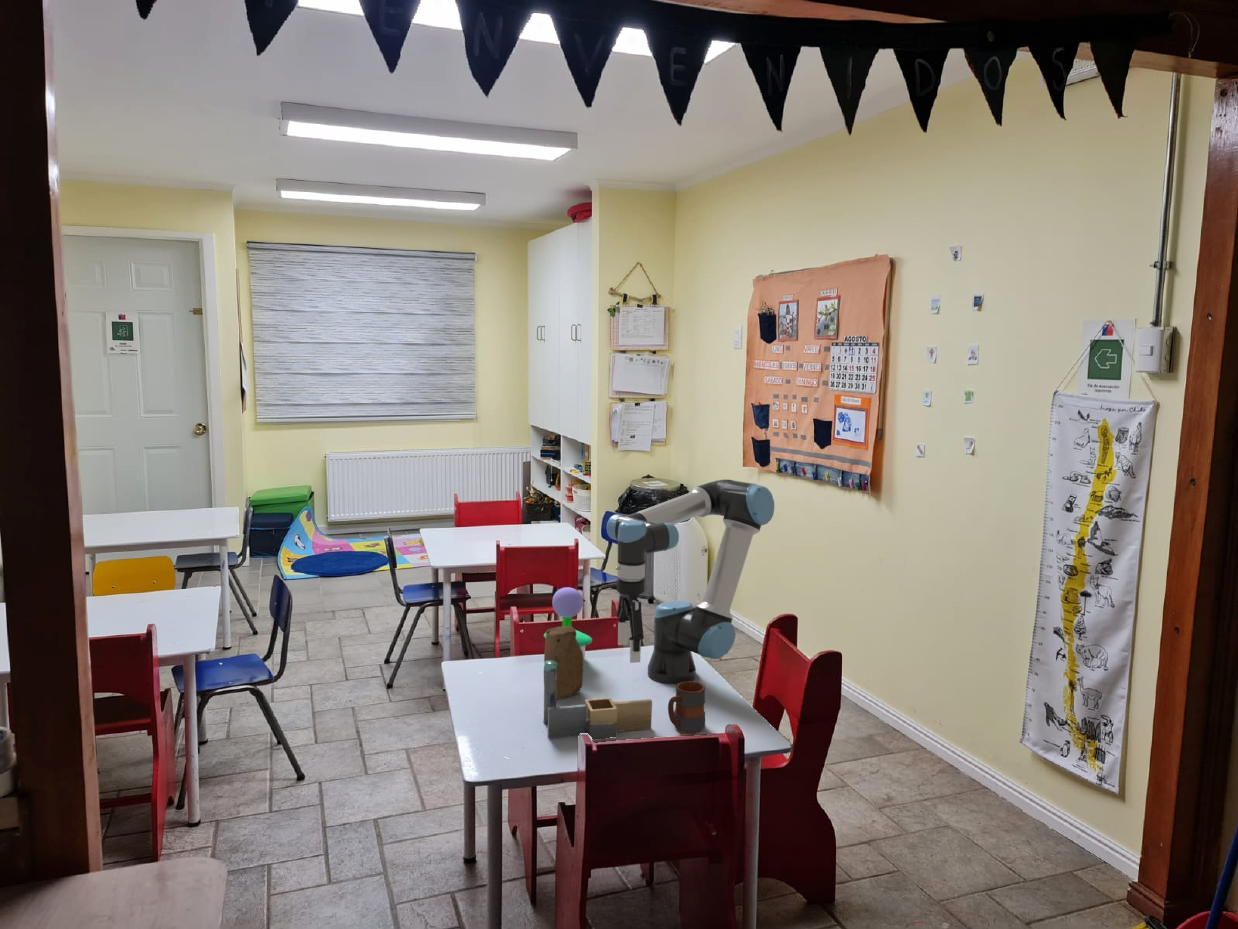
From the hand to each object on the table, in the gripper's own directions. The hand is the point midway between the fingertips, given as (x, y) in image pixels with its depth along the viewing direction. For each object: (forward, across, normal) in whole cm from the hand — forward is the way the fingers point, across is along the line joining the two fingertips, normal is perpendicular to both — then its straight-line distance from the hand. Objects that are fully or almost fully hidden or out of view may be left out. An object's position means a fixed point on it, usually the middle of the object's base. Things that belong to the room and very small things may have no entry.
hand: (628, 653), depth 236 cm
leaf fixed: (+19, +8, -15) cm, 25 cm away
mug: (+19, +10, +14) cm, 25 cm away
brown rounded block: (+19, -19, -14) cm, 30 cm away
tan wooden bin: (+18, +8, -4) cm, 20 cm away
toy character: (+19, -43, -8) cm, 48 cm away
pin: (+19, -1, -22) cm, 28 cm away
